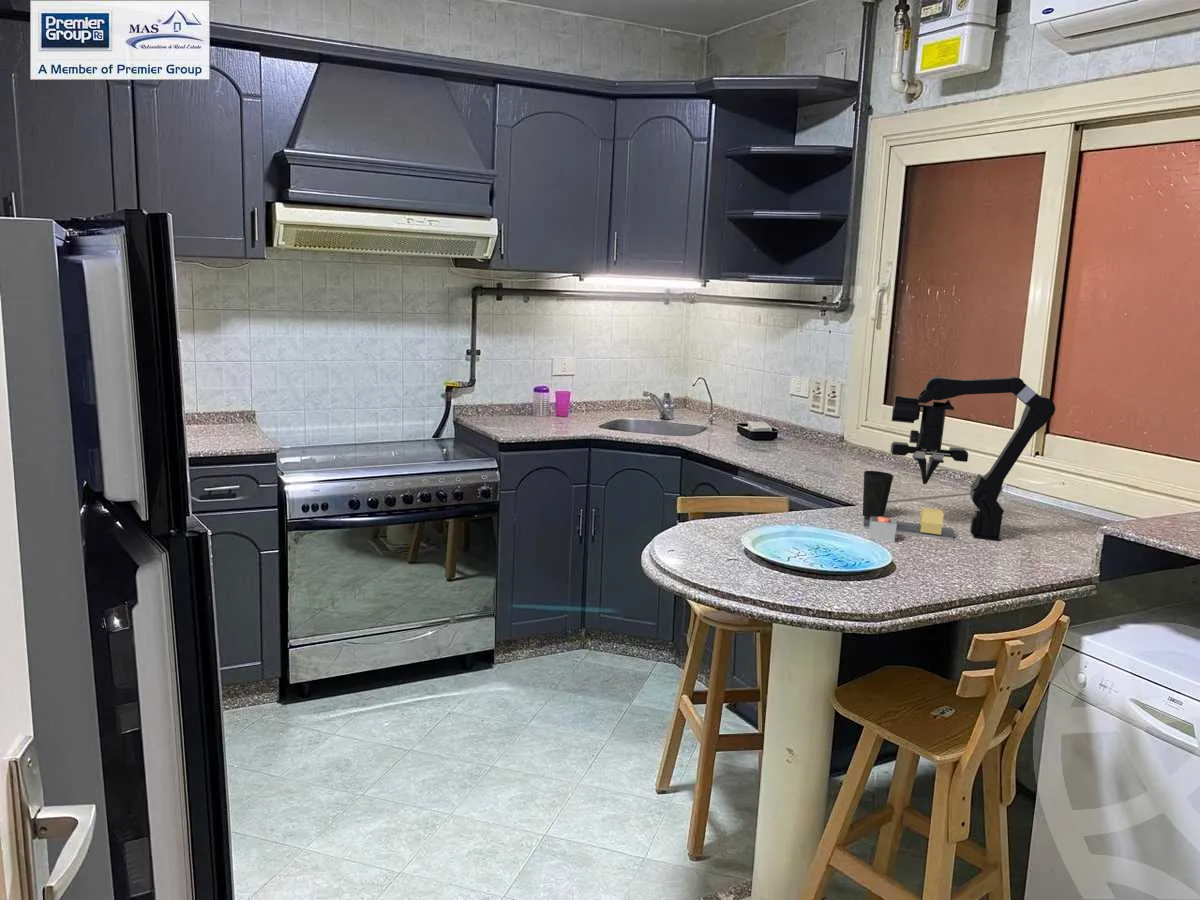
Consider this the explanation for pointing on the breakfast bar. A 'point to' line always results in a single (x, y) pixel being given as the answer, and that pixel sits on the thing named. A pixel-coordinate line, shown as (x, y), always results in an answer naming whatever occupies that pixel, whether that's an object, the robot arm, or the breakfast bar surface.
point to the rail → (915, 529)
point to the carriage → (931, 520)
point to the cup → (876, 492)
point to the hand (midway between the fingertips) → (924, 483)
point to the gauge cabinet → (882, 529)
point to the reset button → (883, 519)
